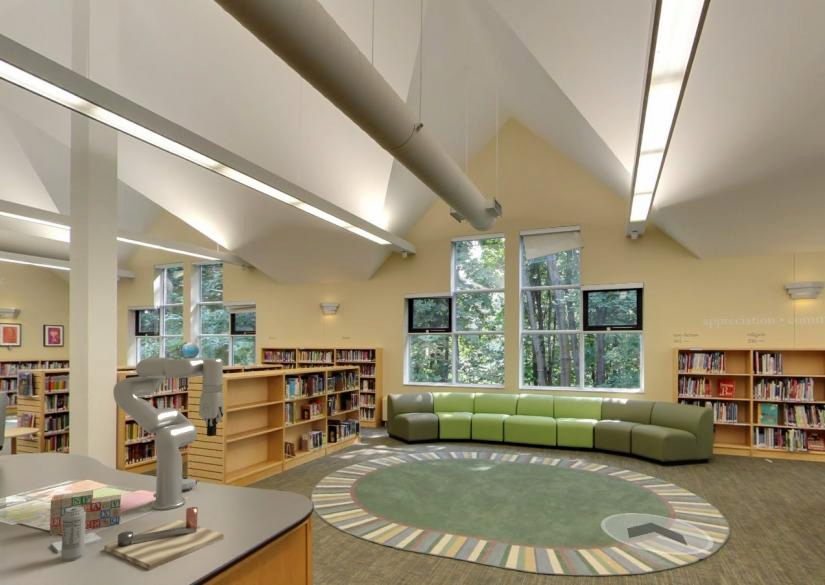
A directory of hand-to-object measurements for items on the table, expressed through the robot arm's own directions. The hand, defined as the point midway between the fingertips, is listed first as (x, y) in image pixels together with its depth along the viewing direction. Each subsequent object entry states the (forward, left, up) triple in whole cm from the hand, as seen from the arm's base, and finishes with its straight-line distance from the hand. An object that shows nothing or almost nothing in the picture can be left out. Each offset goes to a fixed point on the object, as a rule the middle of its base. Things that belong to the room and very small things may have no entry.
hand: (211, 435), depth 203 cm
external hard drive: (-11, -43, -30) cm, 54 cm away
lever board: (+15, -28, -29) cm, 43 cm away
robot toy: (-35, +10, -30) cm, 47 cm away
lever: (+12, -28, -27) cm, 41 cm away
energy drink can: (-1, -49, -29) cm, 57 cm away
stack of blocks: (-24, -34, -30) cm, 51 cm away
